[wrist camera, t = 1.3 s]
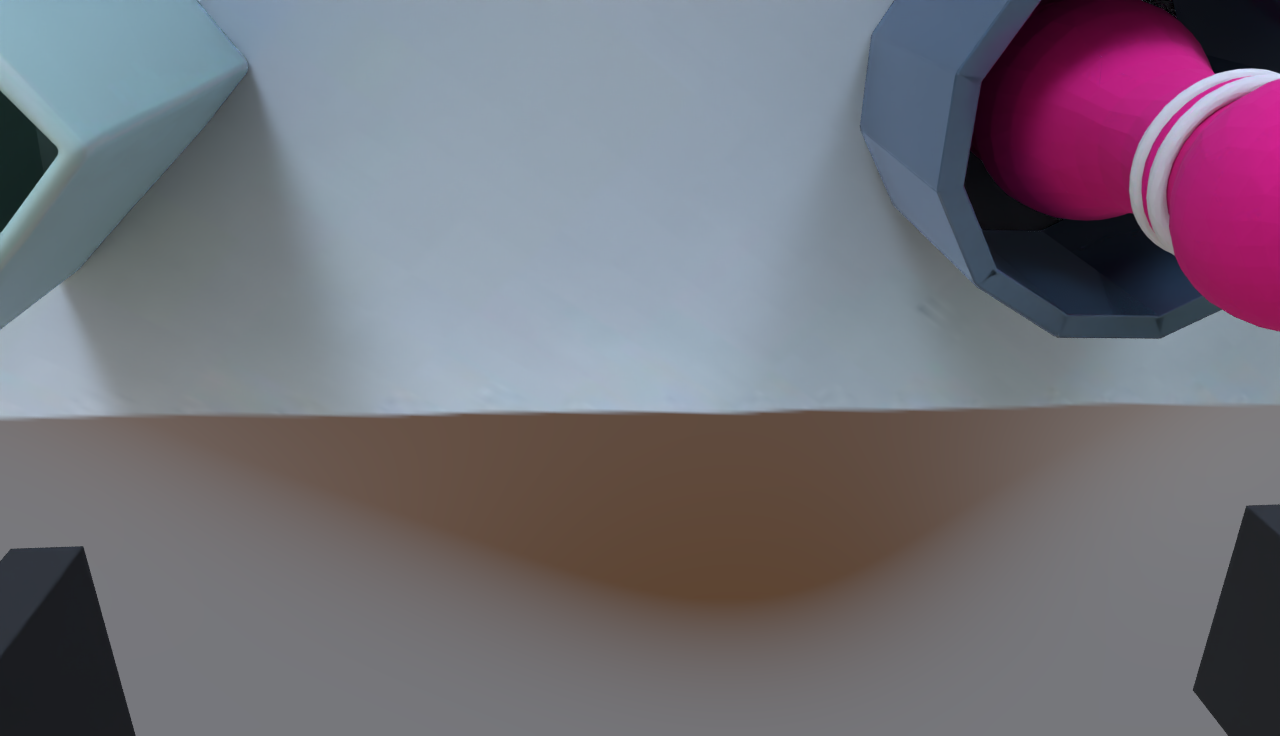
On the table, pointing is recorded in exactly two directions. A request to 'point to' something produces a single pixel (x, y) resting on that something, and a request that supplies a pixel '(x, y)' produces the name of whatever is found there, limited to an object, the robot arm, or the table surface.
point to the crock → (939, 151)
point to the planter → (94, 122)
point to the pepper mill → (1142, 141)
